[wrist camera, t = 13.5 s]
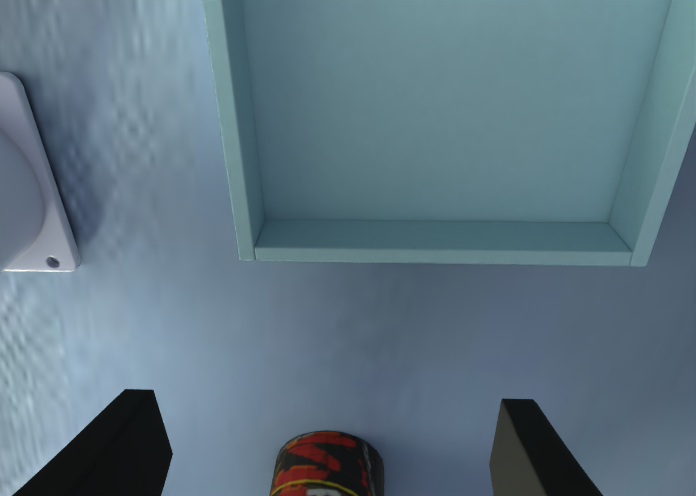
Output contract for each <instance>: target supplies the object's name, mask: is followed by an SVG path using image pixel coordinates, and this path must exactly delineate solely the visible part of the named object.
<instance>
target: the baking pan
mask: <svg viewBox="0 0 696 496" xmlns="http://www.w3.org/2000/svg"><path fill="white" fill-rule="evenodd" d="M202 5H203V12H204V19H205V26H206V32H207V39H208V46H209V53H210V60H211V67H212V74H213V81H214V88H215V95H216V101H217V108H218V115H219V122H220V129H221V136H222V143H223V150H224V157H225V164H226V171H227V177H228V184H229V191H230V198H231V205H232V212H233V219H234V226H235V233H236V240H237V247H238V253H239V259H240V260H245V261H254V260H255V259H256V260H257V261H311V262H376V263H442V264H507V265H573V266H630V267H646V266H647V263H648V260H649V258H650V255H651V252H652V249H653V246H654V243H655V240H656V237H657V234H658V231H659V229H660V226H661V223H662V220H663V217H664V214H665V211H666V208H667V205H668V202H669V200H670V197H671V194H672V191H673V188H674V185H675V182H676V179H677V176H678V173H679V170H680V168H681V165H682V162H683V159H684V156H685V153H686V150H687V147H688V144H689V141H690V139H691V136H692V133H693V130H694V127H695V124H696V0H202Z"/></svg>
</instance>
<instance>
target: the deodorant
mask: <svg viewBox="0 0 696 496" xmlns="http://www.w3.org/2000/svg"><path fill="white" fill-rule="evenodd" d="M269 496H384V466H383V462H382V459H381V457H380V456H379V454H378V452H377V451H376V450H375V449H374V448H373V447H371V446H370V445H369V444H368V443H366V442H364V441H362V440H361V439H359V438H357V437H354V436H351V435H347V434H344V433H339V432H329V431H323V432H311V433H308V434H304V435H301V436H298V437H296V438H294V439H292V440H291V441H289V442H287V443H286V444H285V445H284V447H283V448H282V449H281V450H280V452H279V454H278V456H277V459H276V465H275V470H274V475H273V480H272V485H271V490H270V495H269Z"/></svg>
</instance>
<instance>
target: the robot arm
mask: <svg viewBox="0 0 696 496" xmlns="http://www.w3.org/2000/svg"><path fill="white" fill-rule="evenodd" d="M52 257H54V258H56V259H57V260H58V261H59V262H56V261H55V260H53V258H52ZM80 264H81V258H80V255H79V252H78V249H77V246H76V243H75V240H74V237H73V234H72V231H71V228H70V225H69V222H68V219H67V216H66V213H65V210H64V207H63V204H62V201H61V198H60V195H59V192H58V189H57V186H56V183H55V180H54V177H53V174H52V171H51V168H50V165H49V162H48V159H47V156H46V153H45V150H44V147H43V144H42V141H41V138H40V135H39V132H38V129H37V126H36V123H35V120H34V117H33V114H32V111H31V108H30V105H29V102H28V99H27V96H26V93H25V90H24V87H23V85H22V83H21V81H20V80H19V79H18V78H17V77H16V76H15V75H13V74H11V73H8V72H0V273H1V272H2V271H32V272H73V271H74V270H76V269H77V268H78V267H79V266H80ZM172 455H173V453H172V449H171V446H170V443H169V440H168V436H167V433H166V430H165V426H164V423H163V420H162V417H161V413H160V410H159V407H158V403H157V400H156V397H155V394H154V390H139V389H125V390H124V391H123V392H122V393H121V394H120V395H119V396H117V397H116V398H115V399H114V400H113V401H112V402H111V403H110V404H109V405H108V406H107V407H106V408H105V409H104V410H103V411H102V412H101V413H100V414H99V415H98V416H97V417H95V418H94V419H93V420H92V421H91V422H90V423H89V424H88V425H87V426H86V427H85V428H84V429H83V430H82V431H81V432H80V433H79V434H78V435H77V436H76V437H75V438H74V439H73V440H72V441H71V442H70V443H69V444H68V445H67V446H65V447H64V448H63V449H62V450H61V451H60V452H59V453H58V454H57V455H56V456H55V457H54V458H53V459H52V460H51V461H49V462H48V463H47V464H46V465H45V466H44V467H43V468H42V469H41V470H40V471H39V472H38V473H37V474H36V475H35V476H33V477H32V478H31V479H30V480H29V481H28V482H27V483H26V484H25V485H24V486H23V487H21V488H20V489H19V490H18V491H17V492H16V493H15V494H13V495H12V496H161V494H162V490H163V487H164V484H165V480H166V477H167V473H168V470H169V466H170V462H171V459H172ZM489 465H490V472H491V479H492V486H493V493H494V496H603V495H602V494H601V492H600V491H599V490H598V488H597V487H596V486H595V485H594V483H593V482H592V481H591V479H590V478H589V477H588V475H587V474H586V473H585V471H584V470H583V469H582V467H581V466H580V465H579V463H578V462H577V461H576V459H575V458H574V456H573V455H572V454H571V452H570V451H569V449H568V448H567V447H566V445H565V444H564V442H563V441H562V440H561V438H560V437H559V435H558V434H557V432H556V431H555V429H554V428H553V427H552V425H551V424H550V422H549V421H548V419H547V418H546V416H545V415H544V413H543V412H542V410H541V409H540V407H539V406H538V404H537V403H536V402H535V401H534V400H533V399H502V400H501V406H500V411H499V416H498V422H497V427H496V432H495V437H494V443H493V448H492V453H491V458H490V464H489Z"/></svg>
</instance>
